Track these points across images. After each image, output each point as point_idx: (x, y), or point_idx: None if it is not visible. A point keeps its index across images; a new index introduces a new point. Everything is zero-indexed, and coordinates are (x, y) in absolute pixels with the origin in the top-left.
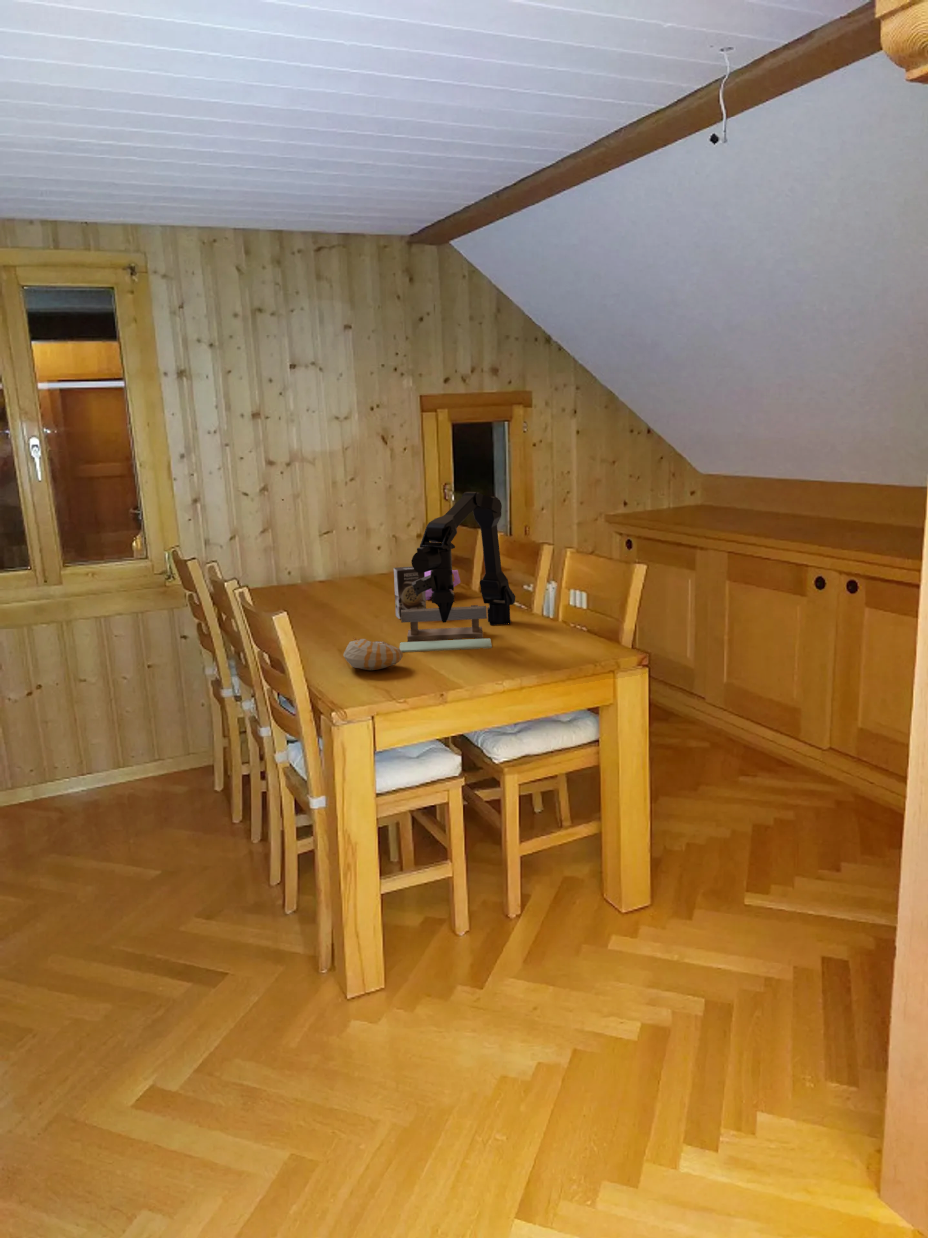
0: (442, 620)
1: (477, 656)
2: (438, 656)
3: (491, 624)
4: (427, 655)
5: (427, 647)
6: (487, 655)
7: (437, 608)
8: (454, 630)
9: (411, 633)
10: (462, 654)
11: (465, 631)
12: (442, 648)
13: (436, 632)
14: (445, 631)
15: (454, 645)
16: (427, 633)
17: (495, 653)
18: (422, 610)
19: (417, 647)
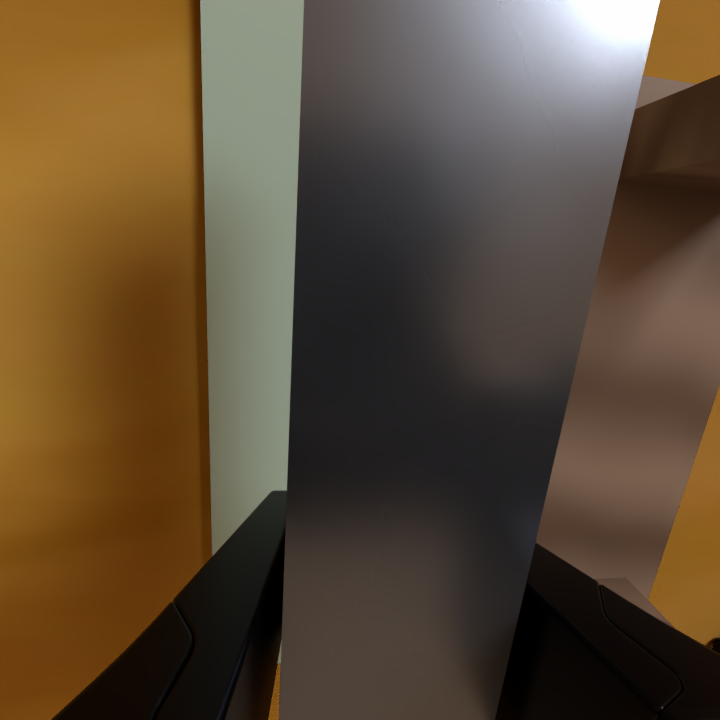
0: (261, 508)
1: (11, 585)
2: (23, 324)
3: (716, 648)
4: (63, 232)
5: (268, 246)
6: (35, 638)
7: (488, 560)
8: (619, 474)
9: (639, 112)
10: (75, 496)
11: (562, 541)
12: (213, 367)
13: (621, 345)
14: (620, 413)
15: (286, 455)
16: (620, 271)
17: (84, 676)
18: (394, 168)
19: (284, 154)
